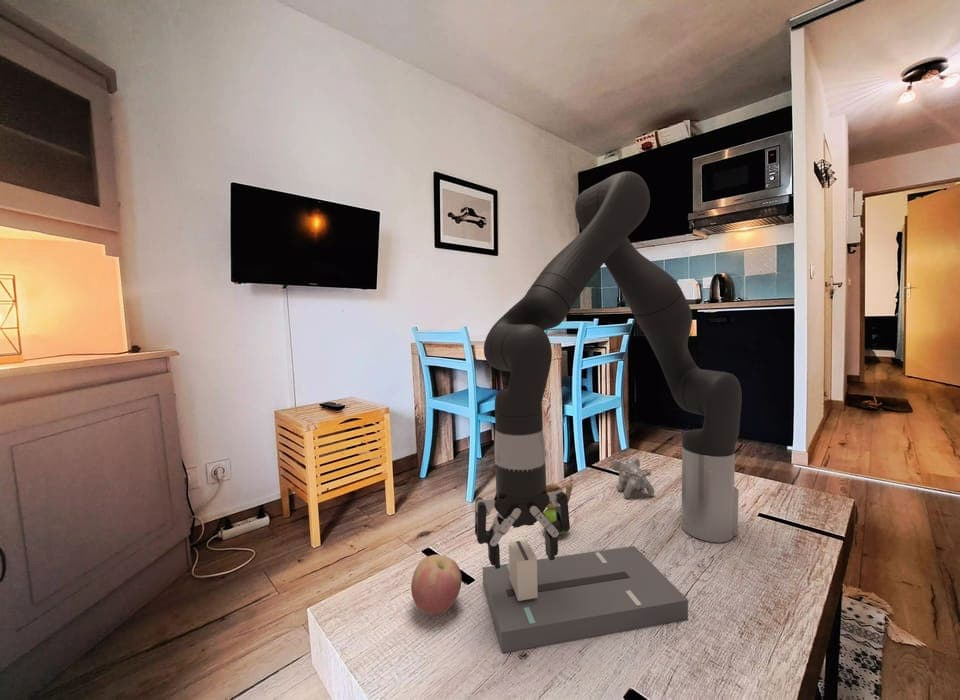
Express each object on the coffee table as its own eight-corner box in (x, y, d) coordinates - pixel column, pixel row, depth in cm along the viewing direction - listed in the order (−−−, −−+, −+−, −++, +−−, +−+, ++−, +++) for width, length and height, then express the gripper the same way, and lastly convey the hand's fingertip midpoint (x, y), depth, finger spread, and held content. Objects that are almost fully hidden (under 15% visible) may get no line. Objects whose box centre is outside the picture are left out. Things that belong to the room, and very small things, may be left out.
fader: (527, 576, 63) (526, 539, 62) (537, 597, 58) (536, 558, 57) (509, 578, 62) (508, 541, 62) (518, 600, 57) (517, 560, 57)
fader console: (634, 561, 71) (634, 545, 71) (687, 619, 57) (688, 599, 57) (483, 584, 66) (482, 566, 66) (502, 653, 52) (501, 631, 52)
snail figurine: (573, 542, 78) (573, 483, 77) (541, 539, 79) (540, 482, 78) (572, 527, 83) (572, 473, 82) (542, 525, 84) (541, 471, 83)
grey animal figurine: (633, 504, 93) (633, 472, 92) (598, 485, 104) (598, 456, 103) (661, 495, 96) (661, 465, 96) (624, 478, 107) (624, 451, 107)
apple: (441, 636, 55) (439, 583, 55) (401, 616, 59) (399, 566, 59) (471, 601, 62) (470, 553, 61) (434, 585, 66) (432, 540, 66)
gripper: (556, 445, 63) (558, 541, 64) (469, 454, 61) (473, 553, 62) (575, 462, 56) (577, 569, 57) (477, 472, 53) (482, 585, 55)
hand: (523, 561), depth 59 cm, fingers open, 8 cm apart
